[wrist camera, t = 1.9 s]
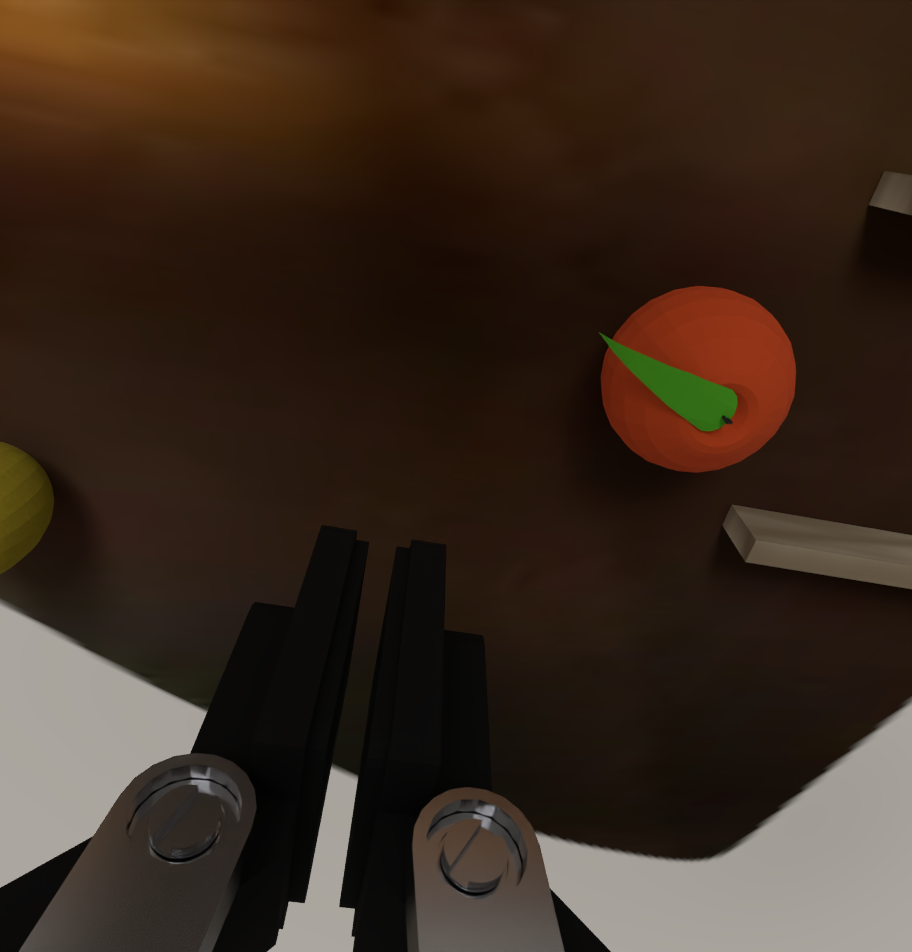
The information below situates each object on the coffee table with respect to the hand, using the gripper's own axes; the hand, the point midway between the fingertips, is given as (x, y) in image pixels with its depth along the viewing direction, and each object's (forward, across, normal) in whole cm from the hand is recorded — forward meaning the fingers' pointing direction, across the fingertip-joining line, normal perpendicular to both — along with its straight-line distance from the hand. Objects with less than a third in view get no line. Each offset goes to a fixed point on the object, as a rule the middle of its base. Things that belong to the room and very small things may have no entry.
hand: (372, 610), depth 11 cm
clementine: (+19, -10, 0) cm, 22 cm away
